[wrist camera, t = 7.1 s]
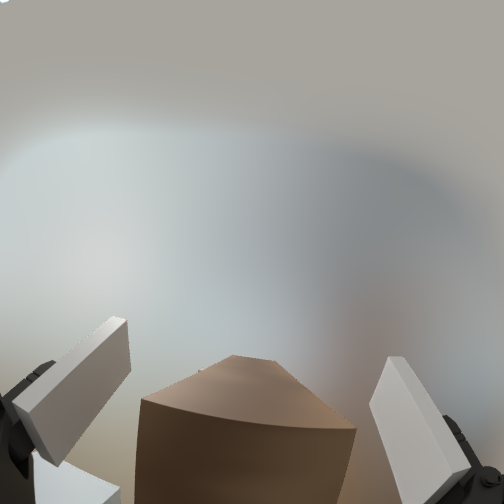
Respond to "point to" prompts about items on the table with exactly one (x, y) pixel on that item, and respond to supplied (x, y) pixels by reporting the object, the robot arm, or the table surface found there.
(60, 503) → the tall pale gray pillar
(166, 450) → the brown wooden beam
